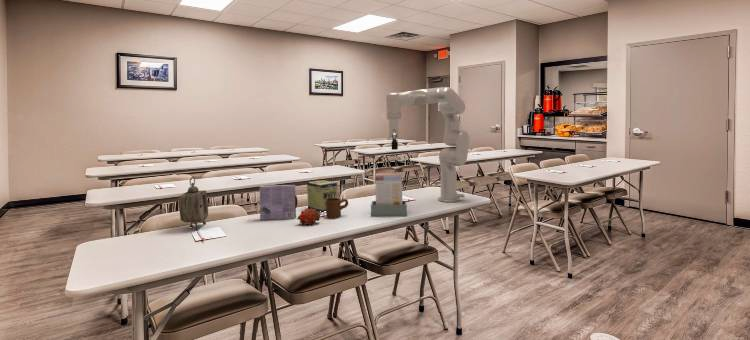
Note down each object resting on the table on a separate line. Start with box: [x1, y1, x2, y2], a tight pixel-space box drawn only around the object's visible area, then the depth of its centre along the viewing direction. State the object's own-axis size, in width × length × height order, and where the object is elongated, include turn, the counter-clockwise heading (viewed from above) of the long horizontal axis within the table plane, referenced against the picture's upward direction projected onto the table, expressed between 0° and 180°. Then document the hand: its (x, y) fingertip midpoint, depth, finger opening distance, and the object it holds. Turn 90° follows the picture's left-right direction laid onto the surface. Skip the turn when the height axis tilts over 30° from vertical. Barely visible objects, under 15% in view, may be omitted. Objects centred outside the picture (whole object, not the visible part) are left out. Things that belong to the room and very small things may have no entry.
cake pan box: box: [259, 184, 298, 221], centre depth 225 cm, size 19×5×18 cm, turn 100°
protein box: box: [306, 179, 338, 213], centre depth 245 cm, size 10×16×16 cm
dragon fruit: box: [296, 208, 321, 226], centre depth 214 cm, size 8×8×12 cm
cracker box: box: [374, 172, 403, 205], centre depth 230 cm, size 14×6×21 cm, turn 85°
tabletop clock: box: [178, 176, 209, 230], centre depth 210 cm, size 14×9×25 cm, turn 5°
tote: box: [370, 200, 408, 217], centre depth 231 cm, size 19×11×6 cm, turn 86°
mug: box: [325, 197, 349, 219], centre depth 228 cm, size 12×8×9 cm, turn 110°
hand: (394, 148), depth 233 cm, fingers open, 9 cm apart
